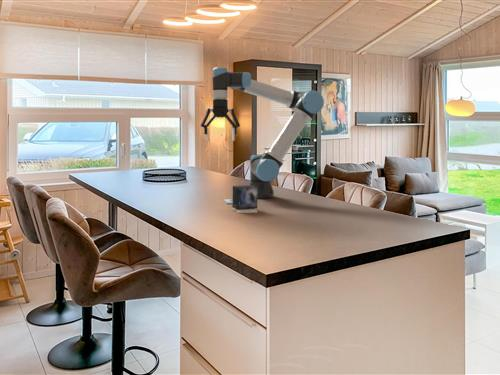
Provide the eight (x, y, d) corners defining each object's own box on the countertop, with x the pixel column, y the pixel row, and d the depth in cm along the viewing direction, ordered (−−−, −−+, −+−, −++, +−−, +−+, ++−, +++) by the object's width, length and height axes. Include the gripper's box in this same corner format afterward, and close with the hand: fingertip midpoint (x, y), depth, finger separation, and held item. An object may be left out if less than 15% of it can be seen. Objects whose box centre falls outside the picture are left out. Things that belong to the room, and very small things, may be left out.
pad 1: (239, 200, 252) (239, 198, 252) (244, 203, 243) (244, 201, 242) (223, 201, 250) (223, 199, 250) (227, 204, 240) (227, 202, 240)
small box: (237, 210, 219) (237, 187, 218) (231, 207, 225) (231, 185, 223) (258, 208, 224) (258, 186, 222) (251, 206, 229) (252, 184, 228)
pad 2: (249, 207, 232) (249, 205, 232) (257, 212, 219) (257, 210, 219) (231, 207, 230) (231, 206, 230) (238, 213, 216) (238, 211, 216)
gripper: (241, 99, 249) (241, 140, 252) (194, 98, 242) (195, 140, 245) (245, 99, 242) (245, 140, 245) (197, 98, 235) (198, 141, 238)
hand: (220, 140), depth 245 cm, fingers open, 13 cm apart
